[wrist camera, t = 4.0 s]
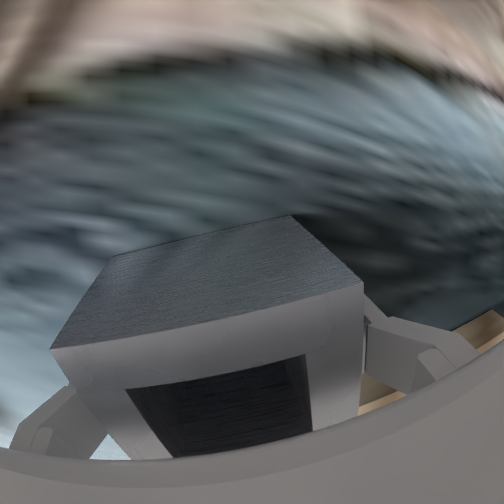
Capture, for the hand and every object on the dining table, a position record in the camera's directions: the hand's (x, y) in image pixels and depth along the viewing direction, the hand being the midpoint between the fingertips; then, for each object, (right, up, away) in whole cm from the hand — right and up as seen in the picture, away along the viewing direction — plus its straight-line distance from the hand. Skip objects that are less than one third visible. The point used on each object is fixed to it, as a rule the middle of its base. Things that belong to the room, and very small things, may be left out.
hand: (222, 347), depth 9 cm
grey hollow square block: (0, +1, +2) cm, 2 cm away
